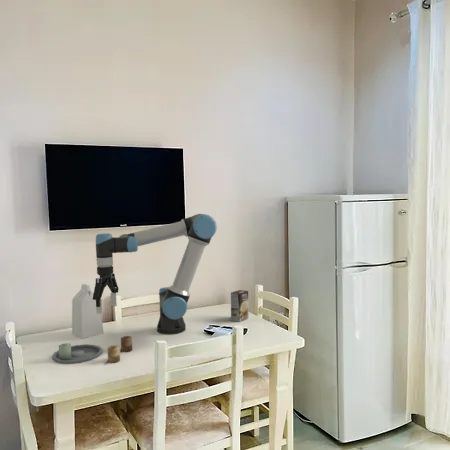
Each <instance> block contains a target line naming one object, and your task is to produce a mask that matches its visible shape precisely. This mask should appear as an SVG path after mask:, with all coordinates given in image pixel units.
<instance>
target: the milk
mask: <svg viewBox="0 0 450 450" xmlns="http://www.w3.org/2000/svg"><path fill="white" fill-rule="evenodd" d="M80 287H81V288H80V289H79V291H78V292H77V293H76V294H75V295H74V296H73V298H72V299H71V300H72V301H71V307H72V308H71V315H72V316H71V334H72V335H73V336H75V337H77V338H80V339H82V340H84V339H88V338H91V337H92V338H93V337H96V336H99V335H103V334H104V325H103V315H102V314H103V313H102V314H97V313H96V300H93V294H94V291H93V292H92V290H91V286H90V285H89V284H86V283H82V284H81V286H80Z"/></svg>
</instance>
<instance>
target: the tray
mask: <svg viewBox="0 0 450 450" xmlns="http://www.w3.org/2000/svg"><path fill="white" fill-rule="evenodd" d="M102 354H103V348H102V347H101V346H100V345H96V344H85V343H83V344H76V345H71V359H70V360H61V359H59V349H58V350H57V351H55V352H53V354H52V356H51V357H52V361H54V363H58V364H61V365H72V364H74V365H75V364H82V363H86V362H91V361H93V360H95V359H98V358H99V357H100V356H101V355H102Z"/></svg>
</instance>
